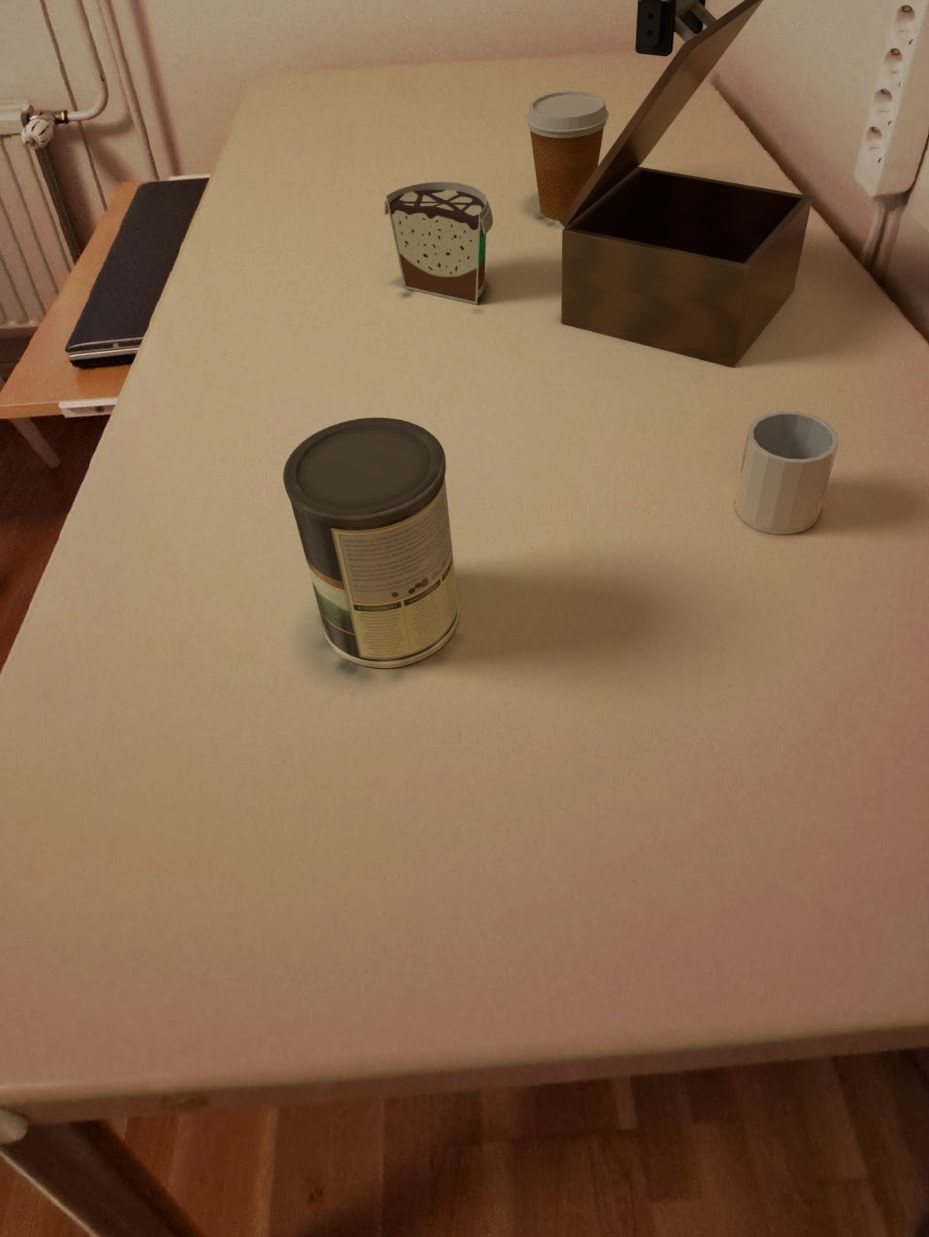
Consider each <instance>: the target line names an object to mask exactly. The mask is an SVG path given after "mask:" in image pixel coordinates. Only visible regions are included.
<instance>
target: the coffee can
mask: <svg viewBox="0 0 929 1237" xmlns="http://www.w3.org/2000/svg"><path fill="white" fill-rule="evenodd" d="M446 470H447V460H446V453H445V450H444V448H443V446H442V443H440V440H438V439H437V438H436V436H435V435H434V434H432V433H431V432H430V431H429V430H427V429H426V428H424V427H422V426H420V425H418V424H415V423H413V422H411V421H408V420H404V419H398V418H390V417H375V416H374V417H361V418H355V419H349V420H347V421H342V422H338V423H336V424H333V425H330V426H328V427H325V428H323V429H321V430H317V432H315V433H313V434H311V435H309V436H308V437H306V438H305V439H304V440H303V441H302V442H300V443H299V444H298V446H296V447H295V449H293V451H292V452H291V453H290V455H289V457H288V458H287V460H286V462H285V465H284V467H283V472H282V481H283V485H284V488H285V492H286V494H287V497H288V499H289V501H290V505H291V509H292V513H293V516H294V520H295V522H296V527H297V530H298V536H299V539H300V543H301V545H302V549H303V553H304V557H305V560H306V565H307V569H308V572H309V577H310V581H311V584H312V588H313V592H314V596H315V599H316V604H317V608H318V611H319V615H320V619H321V623H322V625H321V626H322V632H323V635H324V637H325V640H326V642H327V643H328V645H329V646H330V647H331V649H332V650H333V651H334V652H336V654H338V655H339V656H341V658H343V659H345V660H347V661H349V662H351V663H353V664H356V665H360V666H363V667H366V668H375V669H390V668H391V669H392V668H398V667H400V668H401V667H403V666H408V665H412V664H414V663H418V662H420V661H423V660H425V659H426V658H427V657H430V656H432V655H433V654H435V653H436V652H438V651H439V650H440V649H441V648H443V646H444V645H446V643H447V642H448V641H449V640H450V638H451V637H452V636H453V634H454V632H455V630H456V629H457V627H458V624H459V621H460V602H459V600H458V592H457V591H458V590H457V583H456V582H457V581H456V573H455V563H454V553H453V542H452V532H451V522H450V521H451V520H450V513H449V502H448V492H447V484H446Z"/></svg>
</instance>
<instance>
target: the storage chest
mask: <svg viewBox="0 0 929 1237" xmlns="http://www.w3.org/2000/svg"><path fill="white" fill-rule="evenodd" d="M812 203H813V196H812V195H808V194H807V195H806V194H801V193H795V192H790V191H783V190H778V189H771V188H766V187H760V186H755V185H748V184H743V183H738V182H732V181H725V180H719V179H715V178H707V177H701V176H695V175H689V174H684V173H679V172H673V171H667V170H661V169H655V168H649V167H644V166H639V167H637V168H636V169H635V170H634V171H633V172H631V173H630V174H629V175H628V176H627V177H625V178H624V179H623V180H622V181H621V182H619V183H618V184H617V185H616V186H615V187H613V188H612V189H611V190H610V191H609V192H607V193H606V194H605V195H604V196H603V197H601V198H600V199H599V200H598V201H597V202H595V203H594V204H593V205H592V206H591V207H589V208H588V209H587V210H586V211H585V212H583V213H582V214H581V215H580V216H579V217H577V218H576V219H575V220H574V221H573V222H571V223H570V224H569V225H568V226H567V227H563V229H562V230H561V238H562V239H561V312H560V313H561V316H560V317H561V318H560V323H561V324H563V325H567V326H570V327H574V328H578V329H582V330H586V331H590V332H594V333H597V334H601V335H605V336H609V337H613V338H617V339H621V340H624V341H628V342H633V343H636V344H640V345H643V346H649V347H652V348H655V349H660V350H664V351H667V352H671V353H676V354H679V355H684V356H688V357H691V358H695V359H698V360H702V361H706V362H711V363H713V364H717V365H723V366H725V367H726V366H727V367H730V368H734V367H735V366H736V365H737V364H738V362H739V361H740V359H741V358H742V357H743V356H744V354H745V353H746V352H747V351H748V350H749V348H750V347H751V346H752V345H753V343H754V342H755V341H756V340H757V338H758V337H759V336H760V334H761V333H762V332H763V331H764V329H765V328H766V327H767V326H768V325H769V323H770V322H771V320H772V319H773V318H774V316H776V314H777V313H778V311H779V310H780V309H781V308H782V306H783V305H784V304H785V303H786V301H788V299H789V297H790V296H791V295H792V294H793V293H794V291H795V288H796V282H797V277H798V273H799V268H800V263H801V257H802V253H803V248H804V243H805V238H806V233H807V226H808V222H809V217H810V212H811V207H812Z"/></svg>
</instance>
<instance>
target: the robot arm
mask: <svg viewBox="0 0 929 1237" xmlns="http://www.w3.org/2000/svg"><path fill="white" fill-rule="evenodd" d="M676 1H677V0H636V2H637V6H636V7H637V10H636V26H635V28H636V29H635V31H636V32H635V46H634V48H635V49H634V50H635V53H637V54H639V55H646V56H647V55H648V56H654V57H655V56H657V57H665V58H666V57H669V56H670V55H671V54H672V53H673V50H674V38H675V33H676V32H675V31H674V27H675V14H676ZM699 2H700V3H701V4H702V5H703V6H704V7H705V8H706V2H707V1H706V0H699ZM679 19H680V20H681V21H682V22H683V23H684V24H685V25H686V26H687V27H688V28H689V29H690V30H691V31H692V32H693V33H694V34H695V35H697V34H698V33H699V32H701V31H702V30H704V23H703V22H702V21H701V20H700V19H699V18H698V17H697V16H696V15H695V14H694V13H693V12H692V11H689V12H688V13H686V14H685V15H683V16H682V17H680V18H679Z"/></svg>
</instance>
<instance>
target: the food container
mask: <svg viewBox="0 0 929 1237" xmlns="http://www.w3.org/2000/svg"><path fill="white" fill-rule="evenodd" d="M385 199H386V200H385V201H384V208H383V209H384V210H383V212H384V214H383V215H384V216H386V215H388V216H389V220H390V224H391V225H390V226H391V230H392V236H393V240H394V246H395V249H396V254H397V260H398V264H399V269H400V274H401V278H402V283H403V288H404V289H406V290H410V291H414V292H418V293H424V294H428V295H432V296H437V297H440V298H445V299H449V300H453V301H457V302H463V303H467V304H471V305H476V306H478V305H479V303H481V302H482V300H483V297H484V294H485V277H486V276H485V275H486V274H485V272H486V253H487V252H486V251H487V250H486V249H487V233H488V232H489V231H490V230H491V228H492V227H493V224H494V218H493V213H492V209H491V205H490V203H489V201H488V199H487V197H486V195H485V193H483V191H481V190H479V188H476V187H474V186H471V185H469V184H465V183H461V182H453V181H427V182H422V183H415V184H412V185H408V186H404V187H401V188H398V189H396V190H394V191H391V192H390V193H389V194H387V195H385Z"/></svg>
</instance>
